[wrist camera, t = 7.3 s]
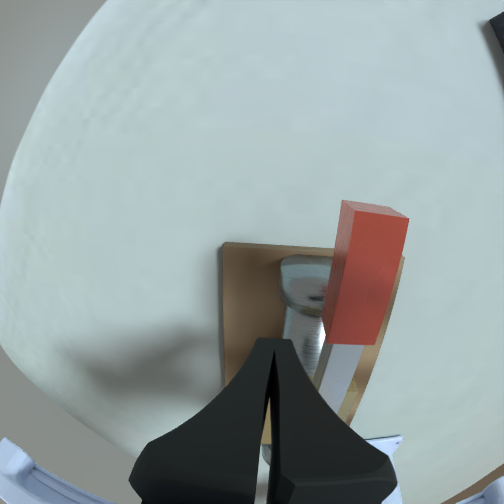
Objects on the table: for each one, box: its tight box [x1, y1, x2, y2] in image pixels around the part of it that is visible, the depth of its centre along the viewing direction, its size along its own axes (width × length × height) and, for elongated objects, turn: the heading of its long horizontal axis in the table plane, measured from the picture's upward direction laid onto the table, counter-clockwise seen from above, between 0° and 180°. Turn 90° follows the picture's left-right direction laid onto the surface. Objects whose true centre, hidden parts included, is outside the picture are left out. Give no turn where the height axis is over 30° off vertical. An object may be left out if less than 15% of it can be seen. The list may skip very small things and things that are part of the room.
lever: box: [312, 200, 409, 414], centre depth 11 cm, size 3×14×2 cm, turn 176°
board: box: [223, 242, 405, 426], centre depth 20 cm, size 18×11×1 cm, turn 178°
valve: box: [261, 254, 358, 466], centre depth 17 cm, size 18×5×6 cm, turn 178°
